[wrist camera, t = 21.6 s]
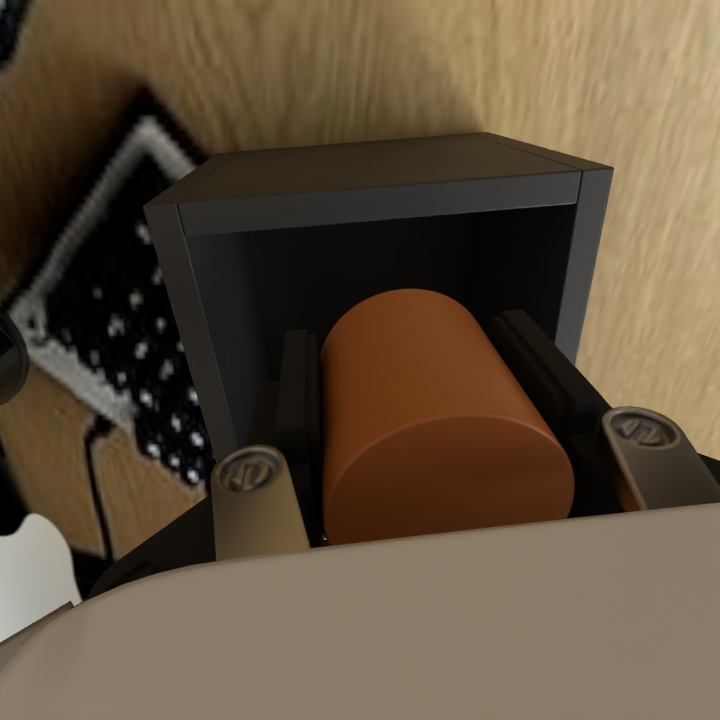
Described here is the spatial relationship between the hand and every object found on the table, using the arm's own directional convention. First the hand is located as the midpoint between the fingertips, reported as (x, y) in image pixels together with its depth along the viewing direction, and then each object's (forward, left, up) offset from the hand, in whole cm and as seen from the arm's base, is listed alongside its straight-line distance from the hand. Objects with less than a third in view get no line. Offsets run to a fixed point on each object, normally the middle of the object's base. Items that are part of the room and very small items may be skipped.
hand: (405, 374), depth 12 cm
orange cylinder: (0, 0, 0) cm, 0 cm away
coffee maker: (-3, +2, -16) cm, 17 cm away
